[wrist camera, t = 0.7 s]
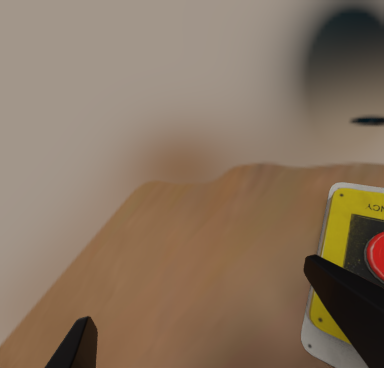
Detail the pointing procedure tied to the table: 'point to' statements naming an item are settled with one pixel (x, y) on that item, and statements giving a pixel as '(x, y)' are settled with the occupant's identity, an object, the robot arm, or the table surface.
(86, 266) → the table surface
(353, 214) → the emergency button
